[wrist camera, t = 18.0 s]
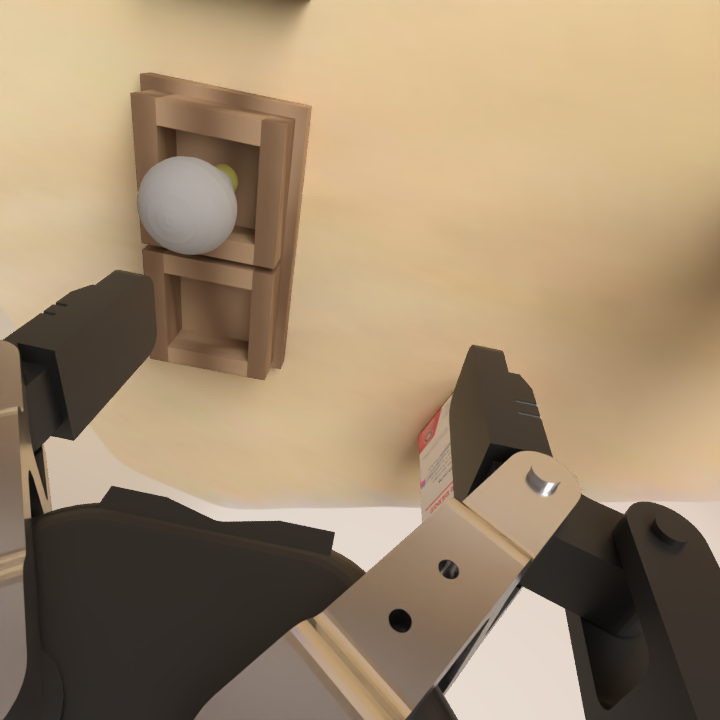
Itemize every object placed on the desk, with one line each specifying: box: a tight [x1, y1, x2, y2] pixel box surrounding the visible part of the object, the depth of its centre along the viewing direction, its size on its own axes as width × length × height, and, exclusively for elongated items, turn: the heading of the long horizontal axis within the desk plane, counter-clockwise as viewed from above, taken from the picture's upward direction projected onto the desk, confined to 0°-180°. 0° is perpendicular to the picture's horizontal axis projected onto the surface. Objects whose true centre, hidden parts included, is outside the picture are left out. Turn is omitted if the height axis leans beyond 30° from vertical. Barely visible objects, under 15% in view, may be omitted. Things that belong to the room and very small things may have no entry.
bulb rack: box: [130, 73, 312, 380], centre depth 37 cm, size 11×21×4 cm, turn 170°
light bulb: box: [137, 156, 238, 255], centre depth 30 cm, size 6×6×10 cm
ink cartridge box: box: [419, 394, 454, 523], centre depth 40 cm, size 9×5×15 cm, turn 152°
